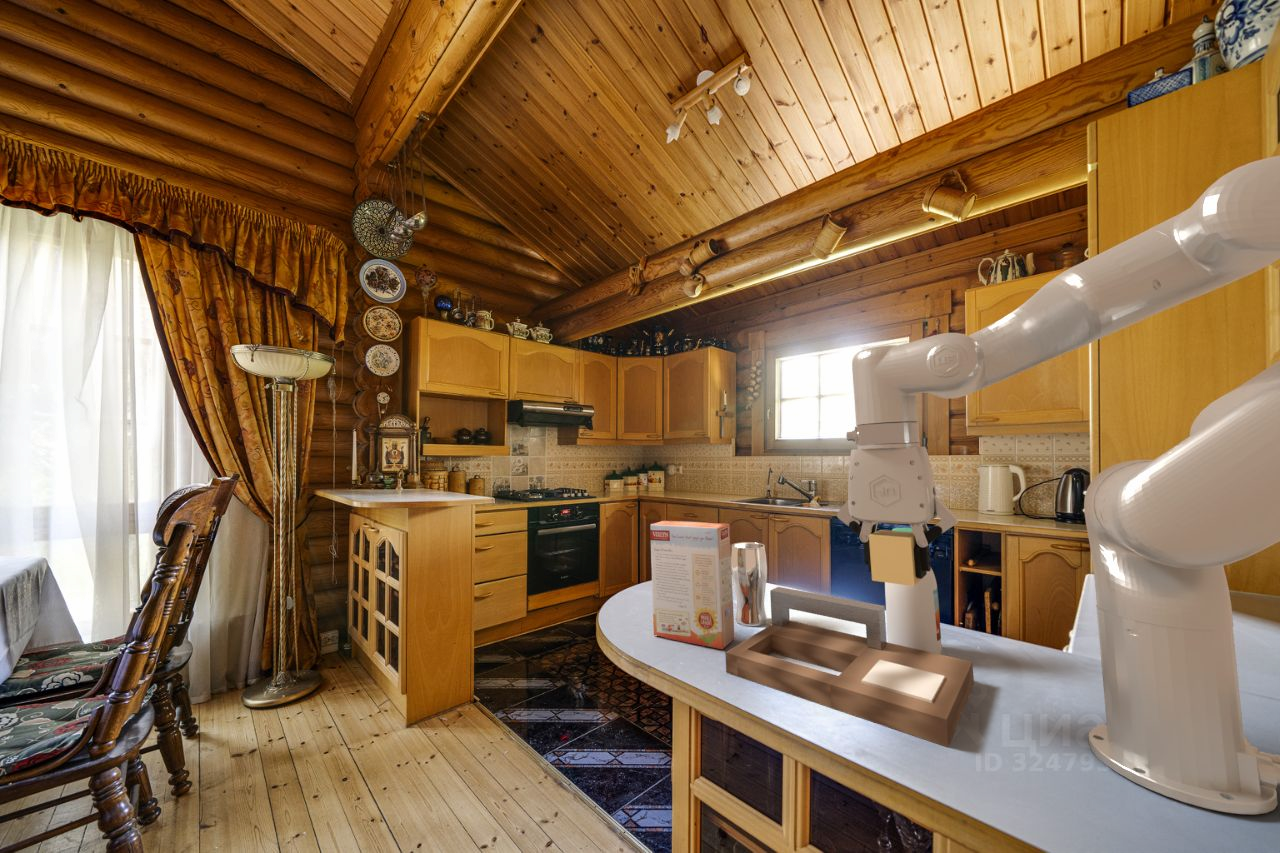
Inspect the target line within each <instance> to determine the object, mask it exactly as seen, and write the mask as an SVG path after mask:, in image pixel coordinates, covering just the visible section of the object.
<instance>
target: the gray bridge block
mask: <svg viewBox="0 0 1280 853" xmlns="http://www.w3.org/2000/svg"><path fill="white" fill-rule="evenodd" d="M769 592H770V613H771V614H770V615H771V624H775V625H779V626H784V625H785V624H787V623H788V622H790V621H791V619H790V610H794V611H799V612H802V613H809V614H813V615H818V616H823V617H827V618H832V619H838V620H840V621H841V620H842V621H845V622H850V623H856V624H861V625H865V631H866V632H865V635H866V638H867V647H872V648H876V649H880V650H881V649H882V648H883V647H884V646H885V645H886V644H887V643H888V639H887V622H886V605H881V604H876V603H871V602H864V601H859V600H853V599H848V598H843V597H838V596H831V595H826V594H820V593H816V592H815V593H814V592H810V591H803V590H798V589H791V588H786V587H781V586H776V587H775V588H773V589H771V590H769Z"/></svg>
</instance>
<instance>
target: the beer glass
mask: <svg viewBox="0 0 1280 853" xmlns="http://www.w3.org/2000/svg"><path fill="white" fill-rule="evenodd" d="M765 546H766V545H765V544H764V543H760V542H750V541H749V542H748V541H743V542H736V543H732V544H731V570H732V583H733V587H734V590H735V591H734V592H735V595H736V596H735V597H736V614H735V622H736V623H737V624H739V625H741V626H744V625H745V626H746V627H752V626H755V627H761V626H762V627H763V626H764V625H766V624H767V622H768V618H767V613H766V610H765V596H766V595H765V594H766V586H767V578H768V576H767V575H768V564H767V555H766V547H765ZM745 626H744V627H745Z"/></svg>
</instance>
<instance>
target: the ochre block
mask: <svg viewBox="0 0 1280 853" xmlns="http://www.w3.org/2000/svg"><path fill="white" fill-rule="evenodd" d="M915 542H916V539H915V536H914V534H913V532H903V531H892V530H889V529H888V530H887V529H885V530H884V529H879V530H876V532H874V533H872V534H870V535H869V544H870V558H871V572H870V573H871V581H873V582H880V583H885V582H886V583H894V584H901V585H908V586H915V585H916V584H917V583H918V582H920V581H921V580H922V579H923V578H922V579H920V578H917V577H916V574H915V561H914V547H915V546H916V543H915Z"/></svg>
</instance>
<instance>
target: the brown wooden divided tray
mask: <svg viewBox="0 0 1280 853" xmlns="http://www.w3.org/2000/svg"><path fill="white" fill-rule="evenodd" d="M770 654H775V655H780V656H784V657H787V658H790V659H795V660H798V661H801V662H805V663H808V664H811V665H815V666H818V667H819V666H820V667H823V668H825V669H830V670H832V671H836V672H840V673H839V675H837V674H833V673H830V672H827V671H823V670H819V669H815V668H812V667H808V666H805V665H802V664H798V663H795V662H792V661H789V660H786V659H785V660H784V659H781V658H778V657H774V656H772V655H770ZM973 663H974V662H973V661H971V660H966V659H962V658H958V657H954V656H948V655H944V654H941V655H940V654H936V653H932V652H927V651H923V650H918V649H914V648H910V647H905V646H901V645H896V644H892V643H888V642H887V644H886V645H885V646H884V647H883V648H882V649H881V650H880V649H876V648H872V647H867V637H865V636H862V635H861V636H860V635H855V634H851V633H846V632H842V631H838V630H833V629H830V628H825V627H821V626H816V625H812V624H806V623H802V622H798V621H794V620H793V621H792V620H790V622H788V623H787V624H785V625H784V626H779V625H775V624H772V623H771V624H770V625H768V626H767V627H765V628H764V629H762V630H760V631H758V632H757V633H755V634H753V635H751V636H750V637H749V638H747V639H745V640H743V641H742V642H740V643H738V644H737V645H735V646H734V647H732V648H730V649H729V650H727V651H725V672H727V674H729V673H730V675H733V676H735V675H736V677H738V678H741V679H745V680H747V681H749V682H750V681H751V682H754V683H757V684H759V685H762V686H765V687H768V688H771V689H774V690H778V691H780V692H783V693H786V694H788V695H792V696H795V697H798V698H801V699H804V700H806V701H810V702H813V703H816V704H819V705H822V706H825V707H827V708H830V709H834V710H837V711H839V712H842V713H845V714H848V715H851V716H854V717H857V718H860V719H864V720H867V721H870V722H872V723H875V724H878V725H881V726H883V727H887V728H890V729H893V730H895V731H899V732H902V733H904V734H907V735H911V736H913V737H917V738H919V739H923V740H926V741H929V742H931V743H935V744H937V745H941V746H943V747H946V748H949V746H950V744H951V741H952V740H953V736H954V733H955V731H956V729H957V727H958V725H959V722H960V719H961V717H962V715H963V712H964V709H965V707H966V704H967V702H968V700H969V697H970V695H971V691H972V690H973V687H974V685H975V681H974V680H975V679H974V665H973Z"/></svg>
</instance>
